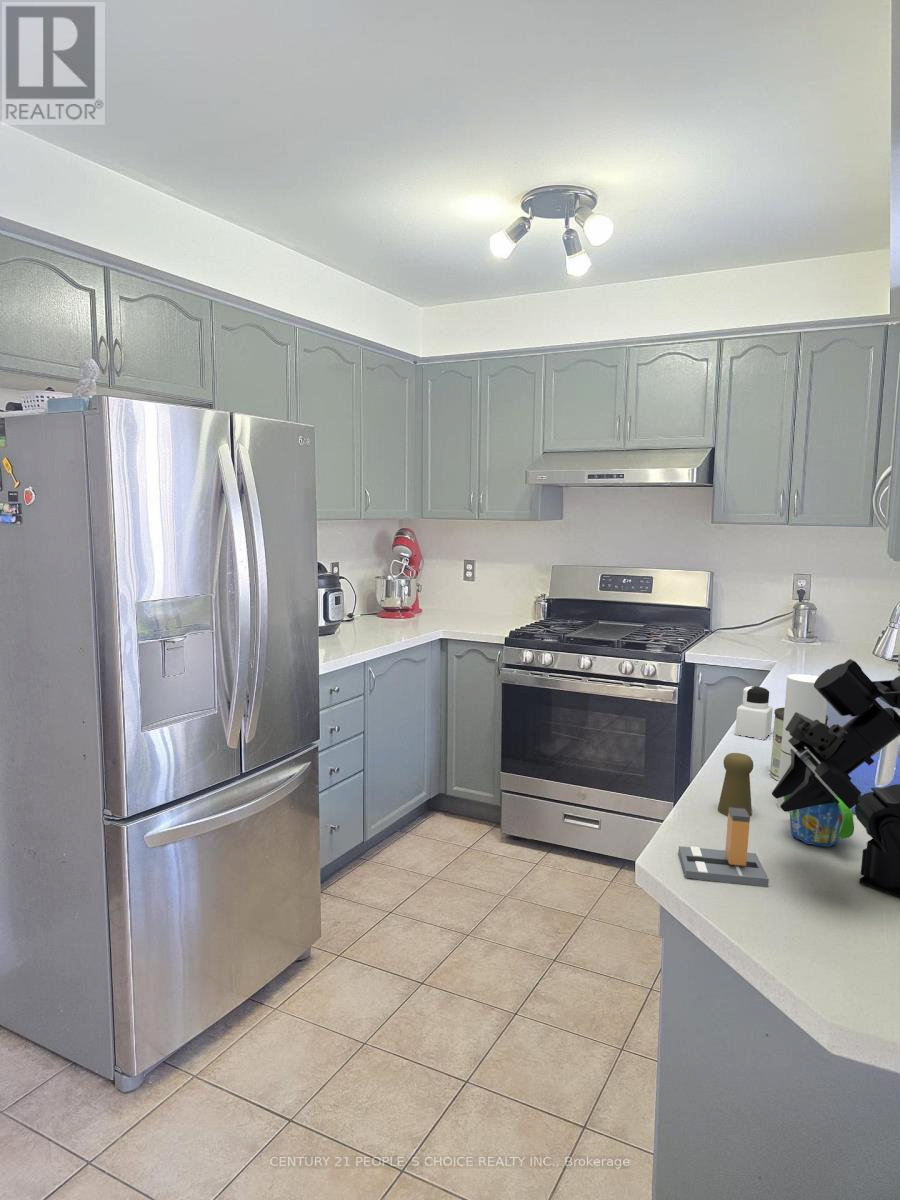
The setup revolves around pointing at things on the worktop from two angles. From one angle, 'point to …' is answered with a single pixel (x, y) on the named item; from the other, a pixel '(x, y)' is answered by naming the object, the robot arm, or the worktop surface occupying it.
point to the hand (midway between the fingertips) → (777, 802)
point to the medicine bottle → (754, 713)
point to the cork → (736, 783)
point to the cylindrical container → (805, 703)
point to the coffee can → (778, 742)
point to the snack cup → (822, 823)
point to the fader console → (720, 867)
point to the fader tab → (737, 836)
